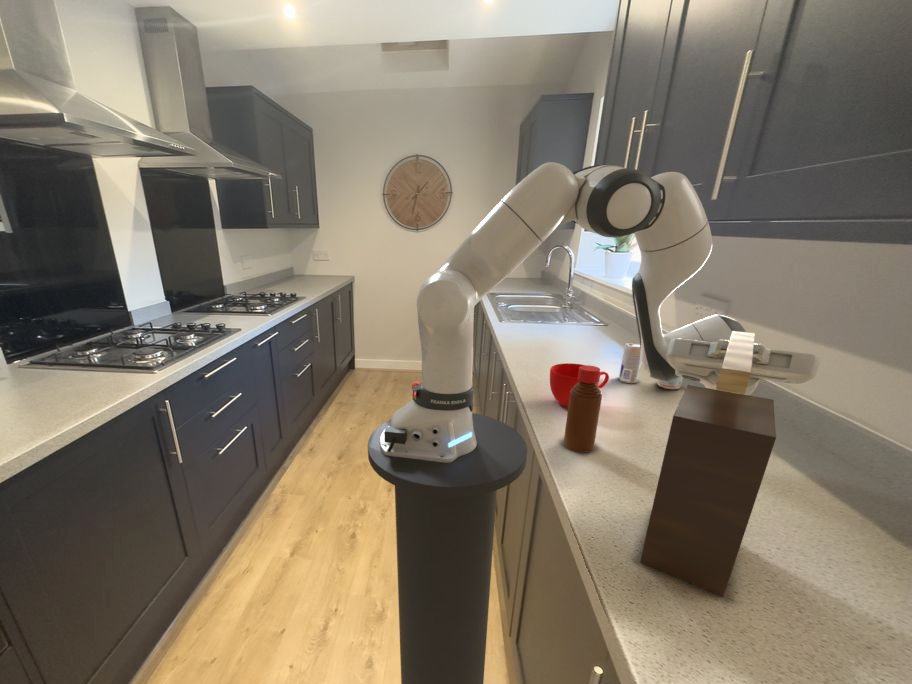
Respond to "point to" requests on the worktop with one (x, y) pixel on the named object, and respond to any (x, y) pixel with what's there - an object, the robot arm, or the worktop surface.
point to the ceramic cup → (567, 381)
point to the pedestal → (708, 485)
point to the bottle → (582, 417)
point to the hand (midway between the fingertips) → (740, 346)
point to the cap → (588, 374)
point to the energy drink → (630, 363)
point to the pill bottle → (671, 383)
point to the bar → (737, 363)
